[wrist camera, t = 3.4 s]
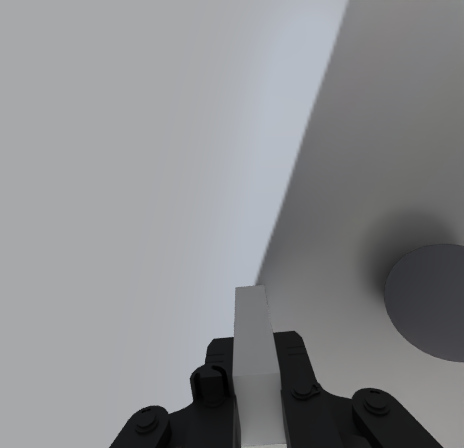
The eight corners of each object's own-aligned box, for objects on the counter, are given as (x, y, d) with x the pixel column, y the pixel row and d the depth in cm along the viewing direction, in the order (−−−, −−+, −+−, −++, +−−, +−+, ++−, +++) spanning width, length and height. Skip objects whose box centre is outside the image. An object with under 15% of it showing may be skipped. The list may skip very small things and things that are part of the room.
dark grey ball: (470, 308, 18) (569, 374, 12) (376, 330, 18) (433, 403, 13) (457, 220, 17) (561, 251, 11) (358, 247, 17) (412, 288, 12)
